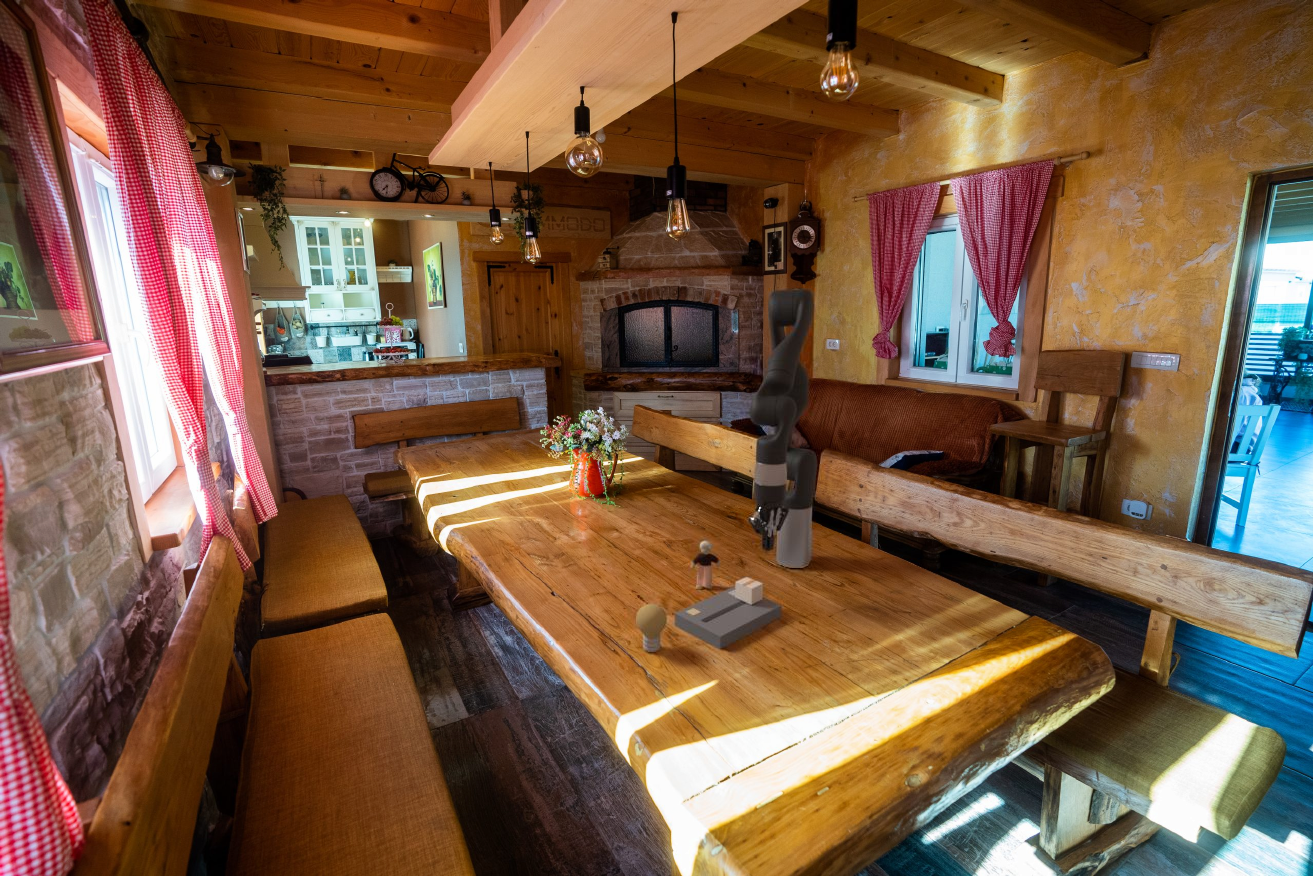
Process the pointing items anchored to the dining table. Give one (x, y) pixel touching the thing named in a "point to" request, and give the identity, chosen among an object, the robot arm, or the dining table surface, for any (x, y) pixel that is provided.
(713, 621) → the fader console
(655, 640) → the light bulb
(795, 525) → the robot arm
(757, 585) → the fader knob
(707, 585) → the grandmother figurine
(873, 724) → the dining table surface
